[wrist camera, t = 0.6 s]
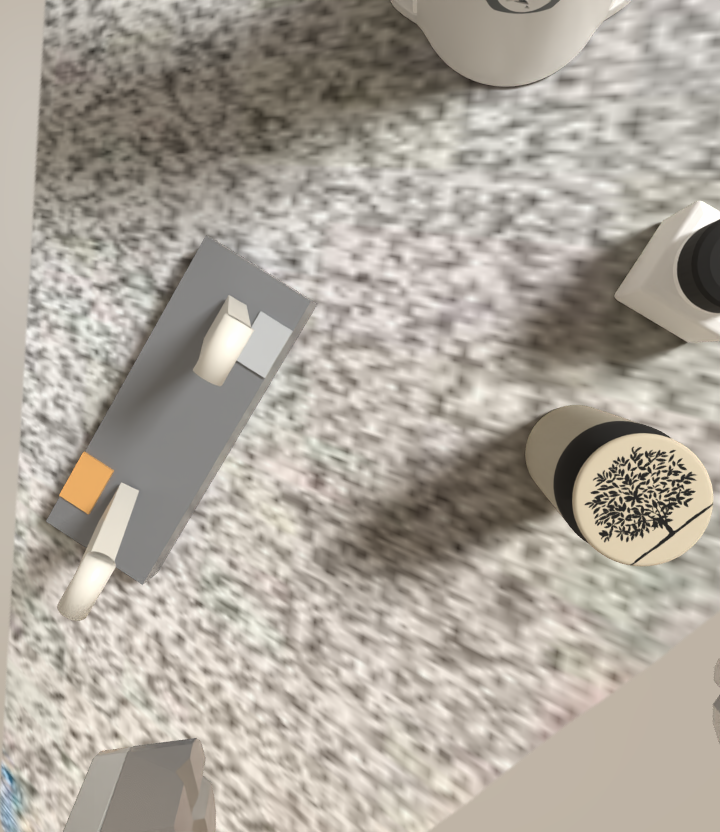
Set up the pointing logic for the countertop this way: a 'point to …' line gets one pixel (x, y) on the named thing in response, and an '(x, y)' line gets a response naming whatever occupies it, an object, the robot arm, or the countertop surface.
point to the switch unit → (180, 409)
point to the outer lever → (99, 556)
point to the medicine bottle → (680, 275)
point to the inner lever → (224, 342)
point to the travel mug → (620, 484)
